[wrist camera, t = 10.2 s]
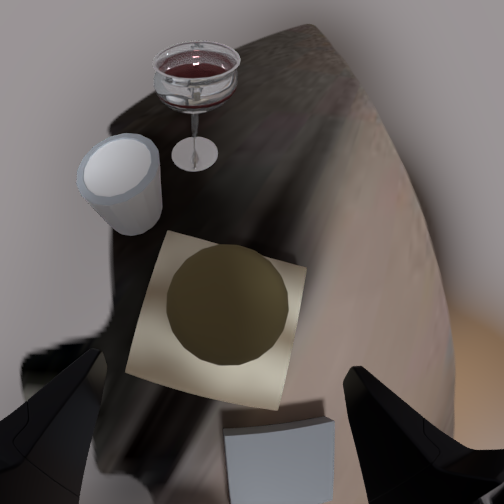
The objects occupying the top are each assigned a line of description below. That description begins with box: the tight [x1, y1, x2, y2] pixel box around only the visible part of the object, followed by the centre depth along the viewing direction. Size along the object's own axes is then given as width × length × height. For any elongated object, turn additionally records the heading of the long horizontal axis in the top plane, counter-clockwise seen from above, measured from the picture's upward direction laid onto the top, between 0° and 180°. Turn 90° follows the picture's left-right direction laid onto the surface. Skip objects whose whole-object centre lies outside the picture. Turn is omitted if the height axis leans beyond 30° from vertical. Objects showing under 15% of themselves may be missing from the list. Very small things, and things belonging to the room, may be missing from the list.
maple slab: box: [125, 230, 307, 411], centre depth 21 cm, size 12×12×2 cm
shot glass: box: [76, 133, 163, 236], centre depth 21 cm, size 7×7×7 cm
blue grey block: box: [223, 416, 335, 504], centre depth 18 cm, size 9×9×2 cm
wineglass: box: [153, 41, 241, 172], centre depth 22 cm, size 7×7×12 cm
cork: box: [166, 244, 289, 366], centre depth 15 cm, size 6×6×11 cm
